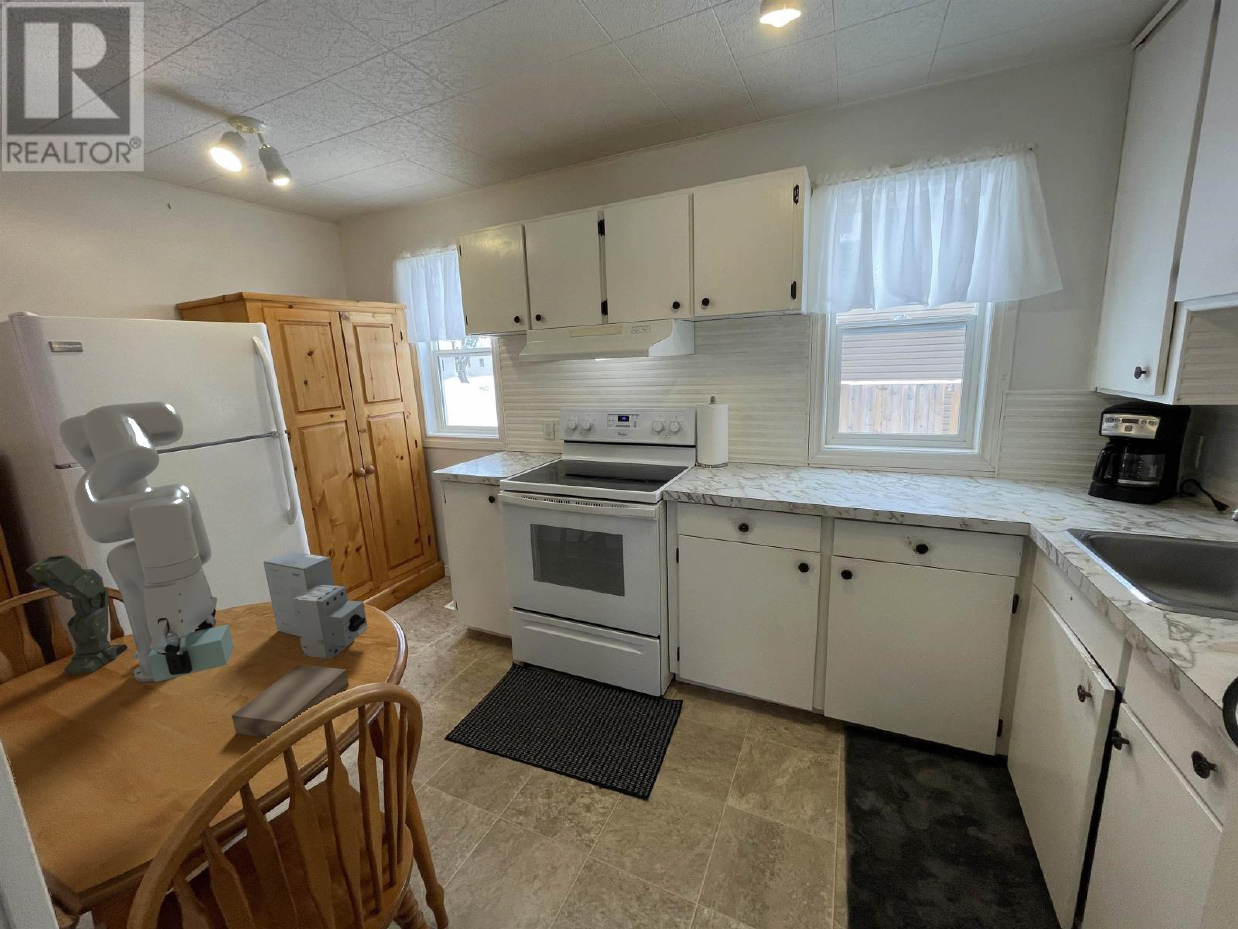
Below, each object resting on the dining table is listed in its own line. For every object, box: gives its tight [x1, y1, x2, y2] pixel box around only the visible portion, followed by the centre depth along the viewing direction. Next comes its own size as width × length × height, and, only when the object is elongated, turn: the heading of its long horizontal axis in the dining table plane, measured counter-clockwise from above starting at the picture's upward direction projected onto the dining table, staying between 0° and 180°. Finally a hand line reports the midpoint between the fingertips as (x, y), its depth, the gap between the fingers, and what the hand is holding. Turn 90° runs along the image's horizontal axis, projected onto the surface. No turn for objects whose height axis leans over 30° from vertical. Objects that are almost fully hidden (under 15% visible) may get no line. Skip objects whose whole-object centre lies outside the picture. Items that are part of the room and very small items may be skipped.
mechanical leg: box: [25, 554, 129, 676], centre depth 118 cm, size 14×7×30 cm, turn 5°
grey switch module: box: [263, 551, 336, 638], centre depth 131 cm, size 16×8×20 cm, turn 68°
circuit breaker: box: [293, 585, 369, 659], centre depth 122 cm, size 8×14×15 cm, turn 79°
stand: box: [231, 664, 350, 738], centre depth 103 cm, size 12×16×4 cm
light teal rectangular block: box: [148, 623, 235, 683], centre depth 91 cm, size 10×6×5 cm, turn 117°
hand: (195, 659), depth 91 cm, fingers closed on light teal rectangular block, 7 cm apart
